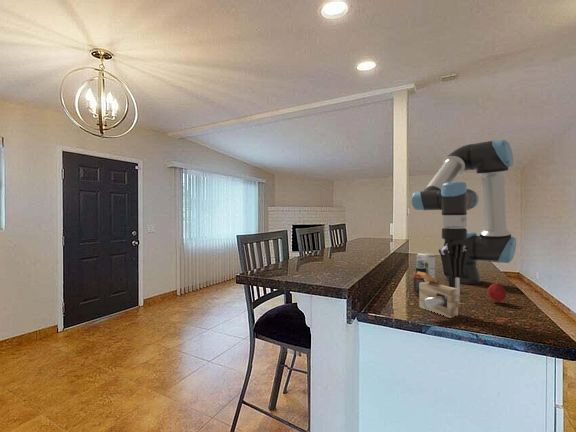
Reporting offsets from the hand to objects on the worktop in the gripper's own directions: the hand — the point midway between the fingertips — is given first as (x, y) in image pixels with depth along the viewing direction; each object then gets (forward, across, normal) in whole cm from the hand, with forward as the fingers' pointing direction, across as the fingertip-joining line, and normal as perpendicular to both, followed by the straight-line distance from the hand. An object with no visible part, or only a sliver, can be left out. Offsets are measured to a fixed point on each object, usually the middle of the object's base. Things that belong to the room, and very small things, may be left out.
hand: (454, 296), depth 104 cm
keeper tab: (-5, -6, +6) cm, 10 cm away
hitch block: (+5, -4, +3) cm, 8 cm away
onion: (+6, +22, -1) cm, 23 cm away
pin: (+3, -7, 0) cm, 8 cm away
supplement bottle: (+6, +8, +20) cm, 22 cm away
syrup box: (+6, +22, +30) cm, 38 cm away
